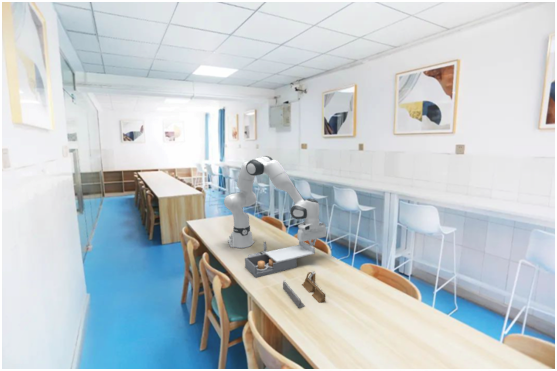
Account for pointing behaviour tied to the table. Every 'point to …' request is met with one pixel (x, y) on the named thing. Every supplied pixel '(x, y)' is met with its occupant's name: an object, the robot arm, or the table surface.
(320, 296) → the skate ramp
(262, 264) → the brown egg
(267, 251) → the electronic device
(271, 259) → the egg seated
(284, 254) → the lid
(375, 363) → the table surface
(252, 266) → the housing
